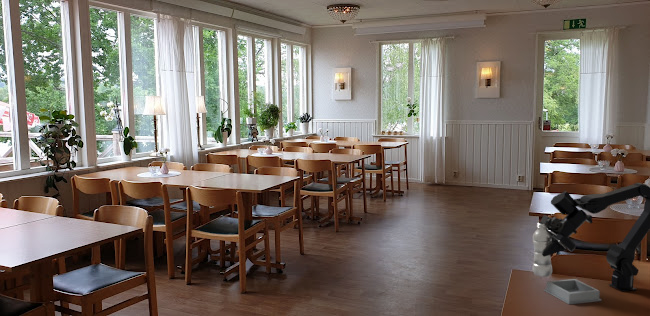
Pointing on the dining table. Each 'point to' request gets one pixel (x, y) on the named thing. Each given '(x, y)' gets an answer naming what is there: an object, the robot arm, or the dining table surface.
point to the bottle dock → (572, 291)
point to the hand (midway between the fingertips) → (539, 253)
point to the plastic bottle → (541, 251)
